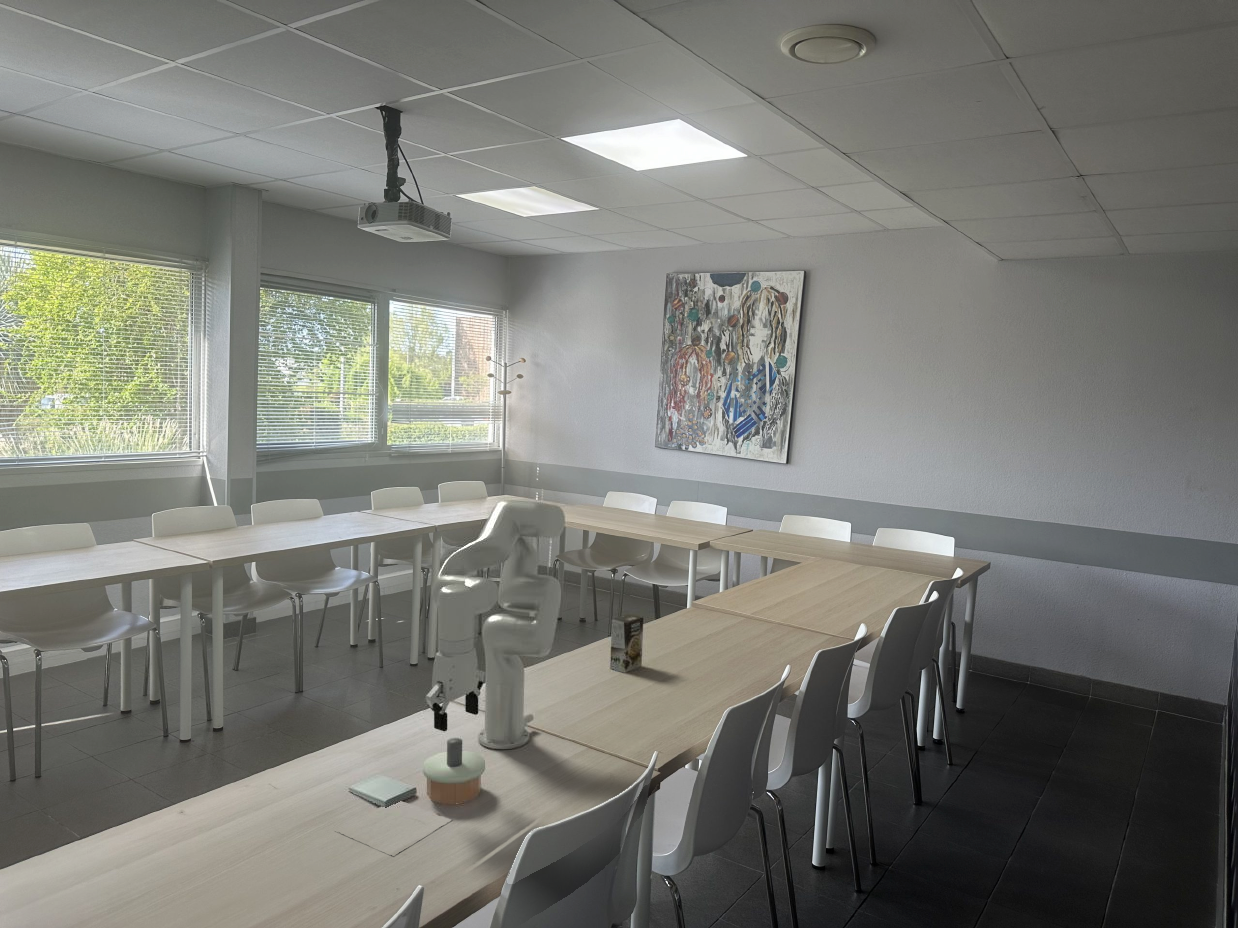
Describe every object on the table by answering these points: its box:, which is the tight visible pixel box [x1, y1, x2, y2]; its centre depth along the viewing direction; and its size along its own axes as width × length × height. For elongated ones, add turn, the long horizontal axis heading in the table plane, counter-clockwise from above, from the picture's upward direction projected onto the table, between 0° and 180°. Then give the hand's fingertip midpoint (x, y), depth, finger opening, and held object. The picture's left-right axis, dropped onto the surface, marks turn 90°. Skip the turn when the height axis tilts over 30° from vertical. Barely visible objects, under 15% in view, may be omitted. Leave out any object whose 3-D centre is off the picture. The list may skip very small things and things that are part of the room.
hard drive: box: [347, 774, 418, 808], centre depth 176 cm, size 2×8×12 cm
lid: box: [422, 737, 486, 783], centre depth 177 cm, size 13×13×6 cm
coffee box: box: [609, 613, 644, 673], centre depth 263 cm, size 9×6×16 cm
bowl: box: [426, 774, 482, 805], centre depth 178 cm, size 11×11×6 cm
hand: (456, 720), depth 177 cm, fingers open, 9 cm apart
